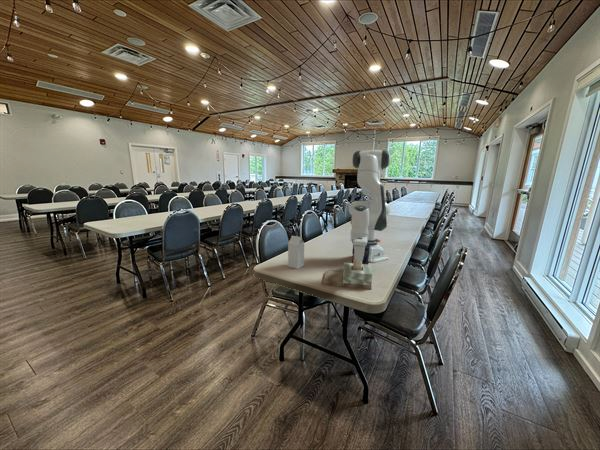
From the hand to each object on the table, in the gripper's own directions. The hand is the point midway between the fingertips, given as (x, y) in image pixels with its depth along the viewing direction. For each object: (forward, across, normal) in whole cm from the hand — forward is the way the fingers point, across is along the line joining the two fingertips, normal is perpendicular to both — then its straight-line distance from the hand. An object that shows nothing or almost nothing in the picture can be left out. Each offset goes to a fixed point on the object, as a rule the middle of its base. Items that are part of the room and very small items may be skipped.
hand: (357, 263), depth 130 cm
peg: (+9, 0, 0) cm, 9 cm away
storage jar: (+10, -18, +2) cm, 21 cm away
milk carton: (+10, -14, -36) cm, 40 cm away
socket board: (+10, 0, -5) cm, 11 cm away
